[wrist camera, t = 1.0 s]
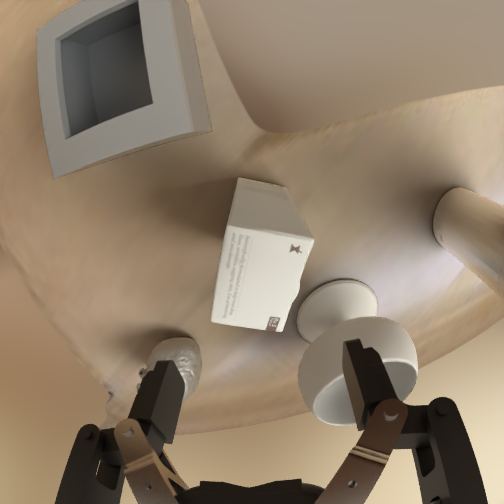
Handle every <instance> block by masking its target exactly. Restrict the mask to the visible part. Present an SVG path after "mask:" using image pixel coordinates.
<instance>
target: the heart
mask: <svg viewBox="0 0 504 504" xmlns="http://www.w3.org/2000/svg"><path fill="white" fill-rule="evenodd" d="M158 360H173V361H174V362H175V364H176V366H177V368H178V370H179V372H180V374H181V375H182V377H183V379H184V382H185V392H184V396H183V400H182V402H184V401H186V400H187V399H188V398H189V397H191V396H192V395H193V393H194V392H195V389H196V388H197V386H198V383H199V379H200V375H201V368H202V360H201V355H200V349H199V345H198V344H197V343H196V342H195V340H193V339H191V338H186V337H177V338H170V339H166V340H164V341H162V342H160V343H159V344H157V345H156V346H155V347H154V349H153V350H152V352H151V354H150V355H149V356H148V359H147V361H146V364H147V365H148V366H147V368H146V369H144V368H142V369H141V370H140V371H139V375H140V377H141V379H143V377H144V376H145V375H146V374H147V373H148V372H149V371H150V370H154V367H155V364H156V362H157V361H158ZM139 388H140V384H138V385H137V392H138V390H139Z"/></svg>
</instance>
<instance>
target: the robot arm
mask: <svg viewBox="0 0 504 504" xmlns="http://www.w3.org/2000/svg"><path fill="white" fill-rule="evenodd" d="M433 231H434V235H435V238H436V240H437V241H438V243H439V244H440V245H441V246H442V247H444V248H445V249H446V250H447V251H449V252H450V253H451V254H452V255H454V256H455V257H456V258H457V259H458V260H459V261H461V262H462V263H463V264H464V265H465V266H466V267H468V268H469V269H470V270H471V271H472V272H473V273H475V274H476V275H477V276H478V277H479V278H480V279H481V280H482V281H484V282H485V283H486V284H487V285H488V286H489V287H490V288H491V289H492V290H493V291H494V292H495V293H496V294H497V295H498V296H499V297H501V298H502V299H503V300H504V206H503V205H500V204H498V203H496V202H494V201H492V200H490V199H488V198H486V197H484V196H482V195H479V194H477V193H475V192H473V191H470V190H468V189H465V188H462V187H456V188H453V189H451V190H449V191H448V192H447V193H446V194H445V195H444V196H443V197H442V198H441V200H440V201H439V203H438V205H437V207H436V210H435V214H434V219H433ZM342 368H343V374H344V378H345V382H346V385H347V389H348V393H349V397H350V401H351V404H352V408H353V412H354V416H355V420H356V424H357V428H358V431H362V430H364V431H363V433H362V435H361V437H360V439H359V440H358V442H357V444H356V446H355V447H354V448H353V449H352V450H351V451H350V453H349V454H348V456H347V457H346V459H345V460H344V462H343V464H342V465H341V467H340V468H339V470H338V471H337V473H336V474H335V476H334V477H333V479H332V480H331V481H330V483H329V484H328V486H327V487H326V488H325V489H324V488H322V487H319V486H316V485H312V484H306V483H302V481H301V479H293V480H283V481H274V482H271V483H267V484H263V485H259V486H255V487H250V488H248V487H242V486H238V485H233V484H229V483H225V482H209V481H200V486H197V487H193V488H189V487H188V486H187V484H186V483H185V482H184V481H183V480H182V479H181V478H180V476H179V475H178V473H177V471H176V470H175V468H174V466H173V465H172V463H171V462H170V460H169V458H168V456H167V454H166V453H165V451H164V450H163V445H164V443H167V444H172V443H173V438H174V434H175V430H176V425H177V421H178V417H179V413H180V409H181V404H182V400H183V396H184V392H185V382H184V379H183V377H182V375H181V374H180V372H179V370H178V368H177V366H176V364H175V362H174V361H173V360H158V361H157V362H156V364H155V367H154V370H150V371H149V372H148V373H147V374H146V375H145V376H144V377H143V379H142V382H141V384H140V388H139V390H138V392H137V393H138V394H137V395H136V397H135V400H134V403H133V405H132V408H131V411H130V413H129V416H128V418H127V419H124V420H122V421H120V422H119V423H118V424H117V425H116V427H115V428H110V429H103V430H100V429H99V428H98V427H97V426H96V425H94V424H87V425H85V426H83V427H82V428H81V429H80V430H79V432H78V434H77V437H76V439H75V442H74V445H73V448H72V450H71V453H70V456H69V459H68V462H67V465H66V468H65V471H64V474H63V477H62V480H61V484H60V487H59V491H58V494H57V497H56V501H55V504H119V503H120V498H121V493H122V488H123V483H124V479H125V477H126V479H127V481H128V483H129V486H130V488H131V490H132V492H133V494H134V496H135V498H136V500H137V502H138V504H364V502H365V501H366V499H367V498H368V496H369V494H370V492H371V491H372V489H373V487H374V486H375V484H376V482H377V480H378V479H379V477H380V475H381V473H382V471H383V469H384V468H385V465H386V463H387V462H388V459H389V457H390V454H391V452H392V450H393V449H412V453H413V458H414V462H415V466H416V470H417V476H418V480H419V486H420V491H421V496H422V502H423V504H488V502H487V497H486V493H485V489H484V485H483V481H482V477H481V474H480V471H479V467H478V464H477V460H476V457H475V454H474V451H473V448H472V445H471V442H470V439H469V437H468V434H467V431H466V428H465V426H464V423H463V421H462V418H461V416H460V413H459V411H458V408H457V406H456V404H455V403H454V401H453V400H451V399H449V398H446V397H439V398H436V399H434V400H433V401H431V402H430V404H429V405H421V406H411V405H407V404H405V403H403V402H402V401H400V400H399V398H398V397H397V395H396V393H395V390H394V388H393V385H392V383H391V380H390V378H389V375H388V373H387V371H386V368H385V366H384V364H383V361H382V359H381V356H380V354H379V353H378V352H377V351H376V350H375V349H374V348H372V347H368V348H363V345H362V343H361V340H360V339H359V338H357V339H352V340H348V341H343V355H342ZM100 460H101V461H100ZM99 461H100V465H99V468H98V464H99ZM97 468H98V472H97ZM96 472H97V475H96Z"/></svg>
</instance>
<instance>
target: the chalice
mask: <svg viewBox="0 0 504 504" xmlns="http://www.w3.org/2000/svg"><path fill="white" fill-rule="evenodd" d="M377 312H378V301H377V297H376V295H375V293H374V291H373V290H372V289H371V288H370V287H369V286H368V285H366V284H364V283H362V282H360V281H355V280H338V281H333V282H330V283H327V284H325V285H323V286H321V287H319V288H318V289H316V290H315V291H313V292H312V293H311V294H310V295H309V296H308V297H307V298H306V299H305V300H304V302H303V303H302V304H301V306H300V308H299V311H298V313H297V320H296V322H297V329H298V331H299V333H300V335H301V336H302V337H303V338H304V339H305V340H306V341H308V342H309V343H311V345H310V346H309V347H308V349H307V350H306V351H305V353H304V355H303V357H302V359H301V362H300V365H299V369H298V383H299V387H300V390H301V393H302V396H303V399H304V401H305V403H306V404H307V406H308V408H309V409H310V410H311V411H312V412H313V414H314V415H315V416H316V417H317V418H318V419H319V420H321V421H323V422H325V423H328V424H331V425H339V426H346V425H355V424H356V420H355V416H354V412H353V408H352V404H351V401H350V397H349V393H348V389H347V385H346V382H345V378H344V374H343V368H342V355H343V341H348V340H352V339H357V338H359V339H360V340H361V343H362V345H363V348H368V347H372V348H374V349H375V350H376V351H377V352H378V353H379V354H380V356H381V359H382V361H383V364H384V366H385V368H386V371H387V373H388V375H389V378H390V380H391V383H392V385H393V388H394V390H395V393H396V395H397V397H398V398H399V400H400V401H402V402H403V401H404V400H405V399H406V398H407V397H408V395H409V394H410V392H411V391H412V390H413V388H414V386H415V384H416V379H417V375H418V363H417V355H416V351H415V347H414V344H413V341H412V340H411V338H410V336H409V334H408V333H407V331H406V330H405V329H404V328H403V327H402V326H400V325H399V324H398V323H396V322H394V321H392V320H389V319H387V318H383V317H376V315H377Z"/></svg>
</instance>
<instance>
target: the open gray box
mask: <svg viewBox="0 0 504 504" xmlns="http://www.w3.org/2000/svg"><path fill="white" fill-rule="evenodd" d="M37 73H38V88H39V99H40V108H41V116H42V123H43V129H44V135H45V141H46V146H47V151H48V156H49V161H50V165H51V169H52V174H53V178H54V179H56V178H59V177H62V176H65V175H67V174H70V173H73V172H76V171H79V170H82V169H86V168H89V167H92V166H95V165H99V164H102V163H105V162H108V161H111V160H113V159H116V158H119V157H122V156H125V155H128V154H131V153H134V152H137V151H140V150H144V149H147V148H150V147H154V146H157V145H161V144H164V143H168V142H171V141H175V140H179V139H183V138H187V137H191V136H195V135H199V134H203V133H208V132H212V127H211V122H210V117H209V112H208V107H207V102H206V97H205V92H204V87H203V82H202V76H201V71H200V66H199V61H198V55H197V50H196V45H195V39H194V34H193V28H192V23H191V17H190V11H189V6H188V3H187V1H186V0H82V1H80V2H79V3H77V4H75V5H74V6H72V7H70V8H69V9H67V10H65V11H64V12H62V13H61V14H59V15H58V16H56V17H55V18H53V19H52V20H50V21H49V22H47V23H46V24H45V25H43V26H42V27H41V28H39V29H38V30H37Z"/></svg>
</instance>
